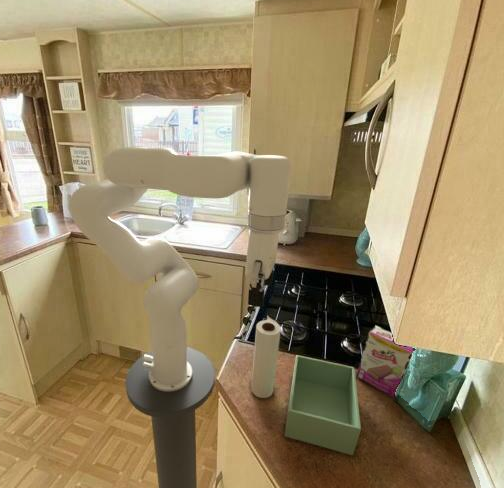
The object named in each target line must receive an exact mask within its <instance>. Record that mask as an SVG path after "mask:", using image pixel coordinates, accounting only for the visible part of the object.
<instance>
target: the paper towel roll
mask: <svg viewBox="0 0 504 488" xmlns="http://www.w3.org/2000/svg"><path fill="white" fill-rule="evenodd" d="M281 330H282V328H281V325H280V324H279V323H278V322H277V321H276V320H275V319H272V318H271V317H270V316H269V315H267V316H266V319H263V320H260V321H258V322H257V323H256V325H255V336H254V337H255V339H254V349H253V363H252V372H251V373H252V375H251V385H250V390H251V392H252V394H253V395H254V396H255V397H257V398H260V399H266V398H269V397H271V396H272V394H273V392H274V388H275V379H276V373H277V372H276V371H277V362H278V355H279V348H280V339H281V332H282V331H281Z"/></svg>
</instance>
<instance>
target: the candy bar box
mask: <svg viewBox="0 0 504 488" xmlns="http://www.w3.org/2000/svg"><path fill="white" fill-rule="evenodd" d="M392 333H393V332H391V331H389V330H387V329H385V328H383V327H380V326H378V325H375V326H374V327H373V328H372V329H370V330H369V332H368V334H367V337H366V341H365V344H364V348H363V352H362V355H361V359H360V362H359V365H358V369H357V371H356V375H355V378H358V379H359V380H361V381H364V382H365V383H367V384H369V385H370V386H372V387H373V388H375V389H377V390H378V391H380V392H382V393H385V394H386V395H387V396H389V397H391V398H393V399H396V398H397V396H395V392H396V389H397V387H398V385H399V384H400V382H401V381H402V379H403V376H404V374H405V372H406V369H407V367H408V365H409V362H410V359H411V357H412V353H413V351H415V350H416V349H415V348H411V347H404V346H399V345H396V344H394V342H393V337H392ZM416 351H417V350H416Z"/></svg>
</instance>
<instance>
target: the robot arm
mask: <svg viewBox="0 0 504 488" xmlns="http://www.w3.org/2000/svg"><path fill="white" fill-rule="evenodd" d="M102 162H103V163H102V170H103V173H104V175H105V177H106V178H107V179H103V180H98V181H94V182H91V183H87V184H83V185H82V186H79V187H78V188H76V189H75V191H73V192H72V194H71V196H70V198H69V204H68V205H69V212H70V216H71V219H72V221H73V223H74V225H75V226H76V227H77V229H78V230H80V232H81V233H82V234H83V235H84V236H85V237H86V238H87V239H88V240H90V241H91V242H92V243H93V244H94V245H96V246H97V247H98V248H99V249H100V250H101V251H102V253H103V254H104V255H105V256H106V257H107V259H109V260H110V262H111V263H112V264H113V265H114V266H115V267H116V268H117V270H119V271H120V273H121V274H122V275H123V276H124V277H125V278H126V279H127V280H128V281H129V282H130V283H132V284H134V285H142V284H145V283H147V282H149V281H150V280H151V279H153V278H154V277H155V276H157V275H158V274H159V275H160V276H161V277H159V279H157V280H155V281H154V282H153V283H152V284H151V285H150V286H149V287H148V288H147V290H146V291H145V293H144V295H143V306H144V310H145V313H146V315H147V319H148V324H149V330H150V331H149V333H150V339H151V340H150V342H151V351H152V354H153V357H151V356H148V355H145V354H143V355H144V357H143V361H145V362H150V363H151V364H149V363H145V362H144V363H143V367H145V368H149V369H150V372H149V380H150V383H151V384H152V386H153V387H155V388H156V389H158V390H161V391H166V392H170V391H176V390H179V389H181V388H183V387H185V386H186V385H187V384H188V383H189V382H190V380H191V378H192V367H191V365H190V364H189V363H188V362H187V350H186V347H187V325H186V321H185V318H184V317H183V315H182V309H183V308H184V306H185V305H186V304H187V303H188V301H190V300H191V299H192V297H193V296H195V295H196V293H197V291H198V290H199V286H200V281H199V277H198V275H197V273H196V272H195V271H194V269H193V268H192V267H191V265H190V264H189V263H188V262H187V261H186V259H184V258H183V256H182V255H181V254H180V253H179V251H177V250H176V248H175V247H174V246H173V245H172V244H171V243H170V242H169V241H167V240H166V239H164V238H161V237H158V236H152V237H149V238H146V239H144V240H142V241H140V240H139V239H138V238H137V236H135V235H134V234H133V232H131V230H130V229H129V228H127V226H125V225H124V224H122V223H121V222H119V221H116V220H113V219H112V218H111V217H110V216H112V215H115V214H118V213H121V212H123V211H126V210H128V209H130V208H132V207H133V206H135V205H136V204H137V203H138V202H139V200H140V199H142V197H143V196H144V195H145V193H147V191H148V190H160V191H168V192H169V193H173V194H175V195H177V196H181V197H187V198H199V199H211V200H212V199H213V200H214V199H225V198H229V197H230V196H233V195H234V194H236V193H237V192H240V191H243V190H247V189H248V201H247V202H248V204H247V205H248V206H247V222H246V223H247V224H246V227H247V229H248V230H249V231H250V232H249V237H248V241H247V248H246V249H247V250H246V261H245V271H244V274H245V277H247V278H248V277H250V280H249V285H248V295H247V296H248V297H247V300H248V301H247V304H248V306H250V307H251V306H252V307H257V308H263V307H264V305H265V302H264V301H265V289H264V287H265V286H268V287H272V285H273V280H274V267H275V264H276V261H277V255H278V246H279V234H280V233H282V232H284V231H285V229H286V220H287V219H286V218H287V210H288V209H287V208H288V200H289V199H288V198H289V189H290V182H291V181H290V180H291V171H292V164H291V163H292V162H291V160H290V159H289V158H288V157H287V156H283V155H277V154H262V155H261V154H260V155H259V154H253V153H248V152H244V151H239V150H238V151H237V150H236V151H235V150H234V151H230V152H224V153H220V154H217V155H187V154H185V155H183V154H178V153H177V152H176V151H175V150H174V149H172V148H166V147H165V148H164V147H163V148H159V147H158V148H157V147H155V148H153V147H152V148H151V147H149V146H146V145H135V146H127V147H119V148H116V149H112V150H111V151H110V152H109V153H108V154H106V156H105V157H104V159H103V161H102Z"/></svg>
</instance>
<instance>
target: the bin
mask: <svg viewBox="0 0 504 488" xmlns="http://www.w3.org/2000/svg"><path fill="white" fill-rule="evenodd" d="M356 378H357V377H356V371H355V367H354V366H350V365H346V364H341V363H336V362H333V361H328V360H323V359H318V358H312V357H308V356H304V355H298V354H296V355H295V361H294V366H293V372H292V379H291V386H290V394H289V399H288V400H289V401H288V409H287V415H286V416H287V417H286V424H285V430H284V437H285V438H289V439H292V440H296V441H299V442H300V441H301V442H304V443H308V444H311V445H314V446H318V447H322V448H325V449H328V450H333V451H336V452H339V453H343V454H346V455H350V456H354V453H355V450H356V448H357V444H358V440H359V437H360V434H361V430H362V427H361V416H360V407H359V406H360V405H359V398H358V389H357V380H356Z"/></svg>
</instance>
